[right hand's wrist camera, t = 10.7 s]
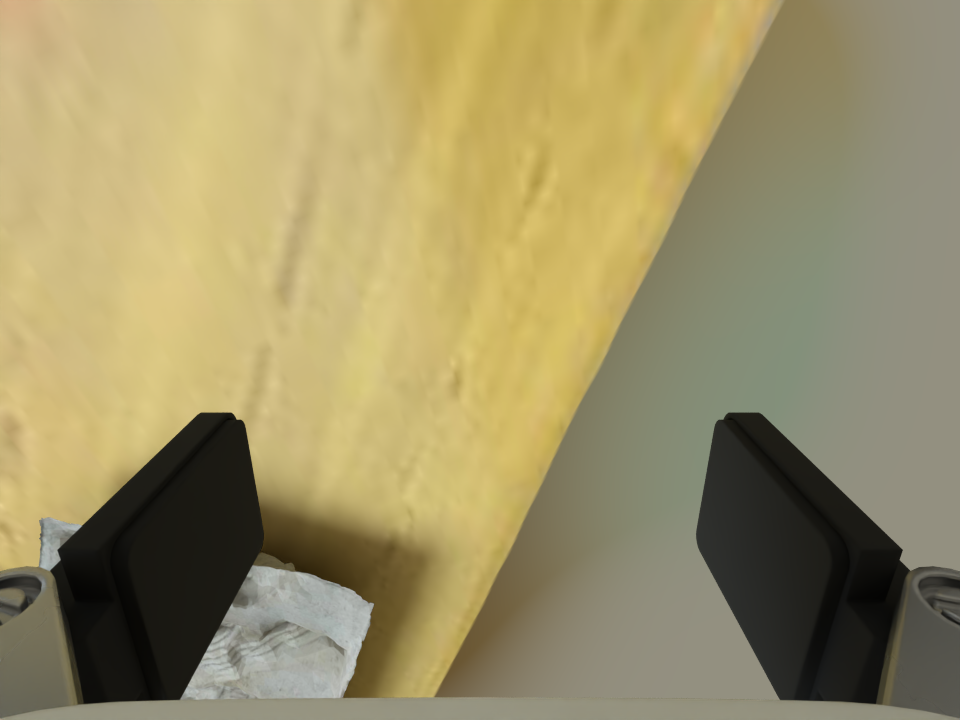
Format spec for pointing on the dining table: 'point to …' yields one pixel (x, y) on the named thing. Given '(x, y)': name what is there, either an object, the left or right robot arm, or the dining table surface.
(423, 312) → the dining table surface
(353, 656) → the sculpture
